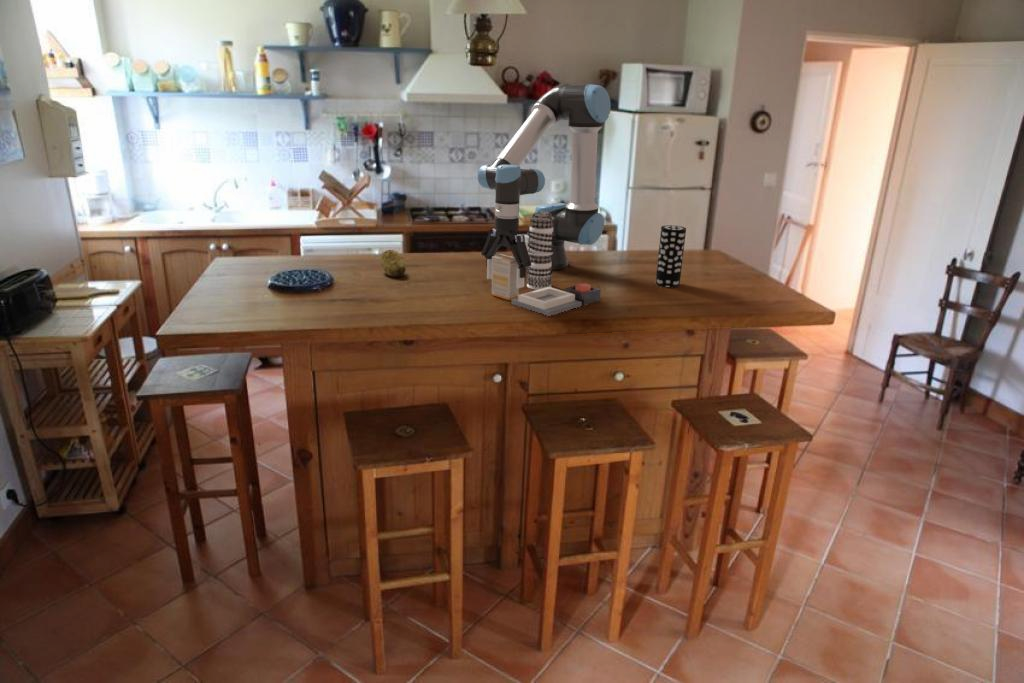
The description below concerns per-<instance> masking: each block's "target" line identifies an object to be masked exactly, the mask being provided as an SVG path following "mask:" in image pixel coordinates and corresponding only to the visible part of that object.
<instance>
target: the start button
mask: <svg viewBox="0 0 1024 683" xmlns="http://www.w3.org/2000/svg"><path fill="white" fill-rule="evenodd" d="M575 285H576V286H575ZM575 285H574V286H575V290H578V291H581V292H587V291H590V289H591V287H592V285H591V284H589V283H583V282H582V283H580V282H579V283H576V284H575Z"/></svg>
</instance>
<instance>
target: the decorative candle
mask: <svg viewBox="0 0 1024 683" xmlns="http://www.w3.org/2000/svg"><path fill="white" fill-rule="evenodd" d="M529 219H530V224H529V228H527V236H528V237H527V244H526V245H527V246H526V247H528V248H527V251H528V254H529V258H530V261H531V266H529V267H526V288H528V289H529V290H533V291H535V290H539V289H543V288H546V287H552V284H553V283H552V282H553V281H552V279H553V276H552V274H553V271H552V266H551V265H552V261H551V255H552V254H553V251H554V250H553V249H551V248H553V247H554V245H552V242H554V241H555V240H554V239H553V238H552V237H554V236H555V235H554V234H553V233H552V232H553V219H554V217H552V215H551V214H550V213H548V212H535V211H534V212H533V213H532V215H531V216H529Z"/></svg>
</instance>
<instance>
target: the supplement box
mask: <svg viewBox="0 0 1024 683" xmlns="http://www.w3.org/2000/svg"><path fill="white" fill-rule="evenodd" d="M518 267H519V266H518V264H517V262H516V260H515V258H514V256H510V255H505V254H503V253H502V254H495V255H494V256H492V279H491V296H493V297H497V298H500V299H503V300H507V301H511V299H515V298H518V295H520V288H516V280H517V268H518Z"/></svg>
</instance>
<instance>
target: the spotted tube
mask: <svg viewBox="0 0 1024 683" xmlns="http://www.w3.org/2000/svg"><path fill="white" fill-rule="evenodd" d="M686 232H687V228H686V227H684V226H680V225H671V224H670V225H662V226H660V236H659V246H658V253H657V254H658V255H657V264H656V273H655V275H656V276H655V285H656V284H657V285H656V286H658V287H660V286H662V288H666V287H672V288H671V289H674V288H673V287H675V288H678V286H679V287H680V285H681V277H682V276H681V275H682V267H683V260H684V259H683V258H684V250H685V243H686V242H685V241H686V240H685V239H686V234H687V233H686Z"/></svg>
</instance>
